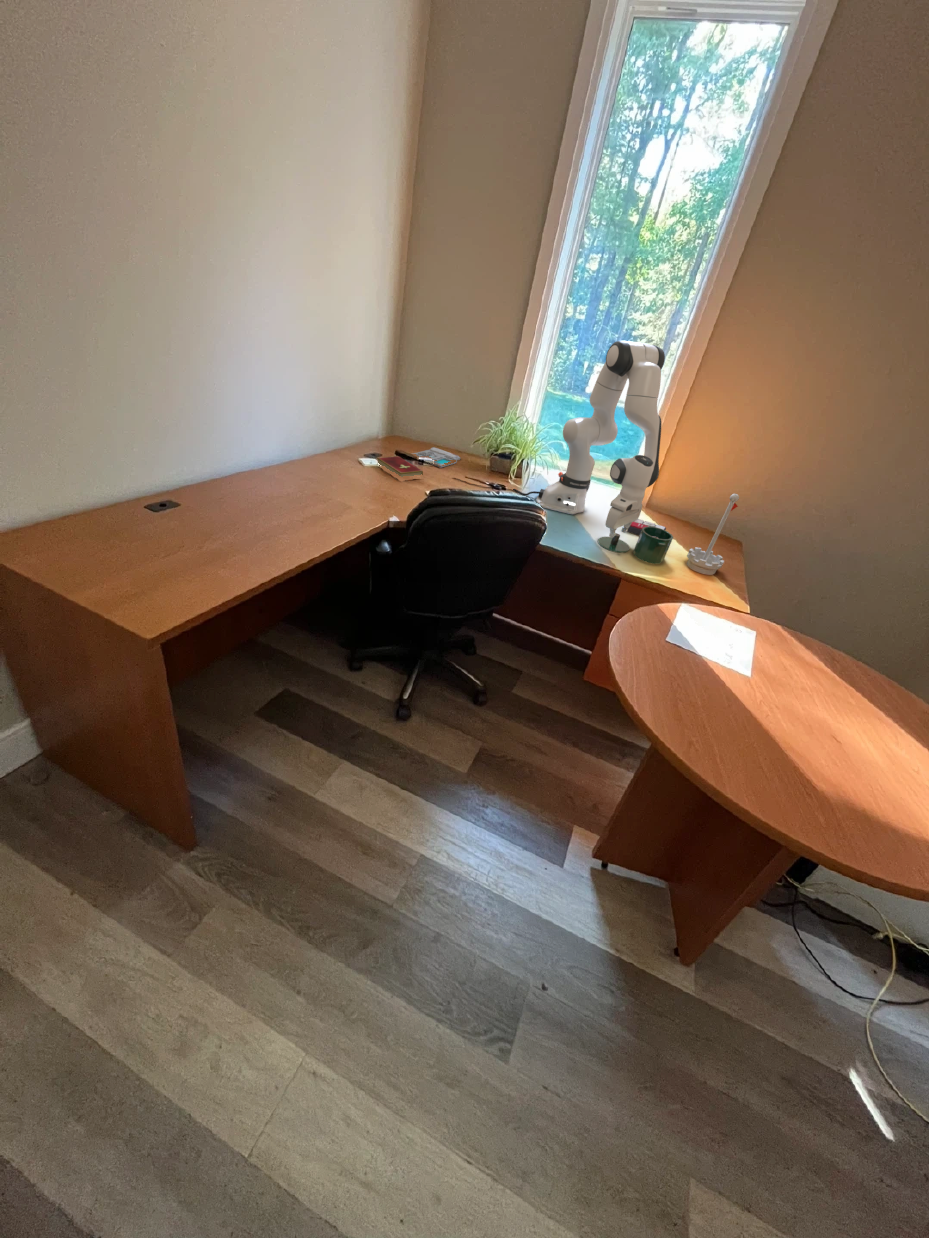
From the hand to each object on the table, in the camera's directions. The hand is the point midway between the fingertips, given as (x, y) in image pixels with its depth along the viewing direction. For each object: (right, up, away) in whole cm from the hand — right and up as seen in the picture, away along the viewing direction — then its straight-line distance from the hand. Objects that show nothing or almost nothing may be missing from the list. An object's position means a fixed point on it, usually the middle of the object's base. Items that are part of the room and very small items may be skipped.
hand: (617, 534), depth 192 cm
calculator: (+17, +3, +19) cm, 26 cm away
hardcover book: (-91, +35, +37) cm, 104 cm away
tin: (+11, -9, -1) cm, 15 cm away
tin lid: (-1, -4, +3) cm, 5 cm away
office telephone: (-75, +50, +62) cm, 109 cm away
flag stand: (+32, -13, -1) cm, 35 cm away
